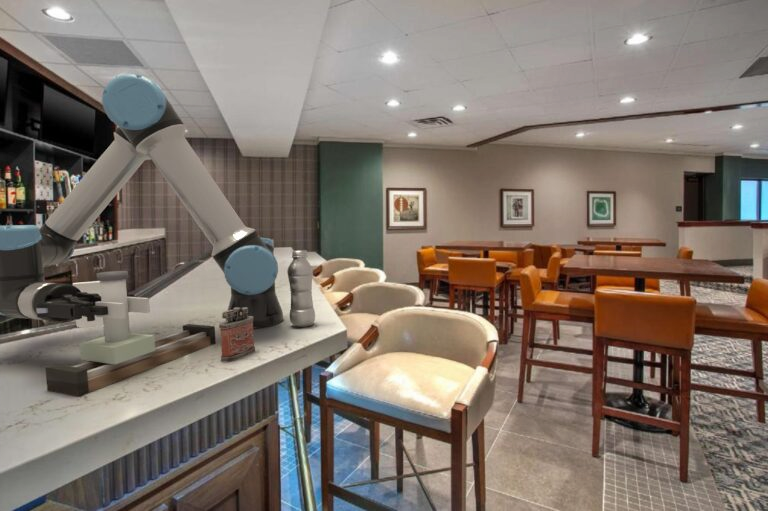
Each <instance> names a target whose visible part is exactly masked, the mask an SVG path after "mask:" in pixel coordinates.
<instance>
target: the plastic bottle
mask: <svg viewBox="0 0 768 511" xmlns="http://www.w3.org/2000/svg"><path fill="white" fill-rule="evenodd" d="M291 254H292V256H291V258H292V261H291V262H290V264H289V265H288V268H287V271H286V272H287V273H286V274H287V278H288V283H289V291H290V310H289V321H290V324H291V325H292V326H294V327H302V328H305V327H308V326H312V325H313V324H314V323H315V320H316V311H315V307H314V303H313V302H314V301H313V293H312V291H313V290H312V289H313V288H312V287H313V286H312V285H313V276H314V275H313V273H314V269H313V267H312V265H311V264H310V262H309V261H308V260H307V258H308V250H306V249H298V250H297V249H295V250H292V252H291Z"/></svg>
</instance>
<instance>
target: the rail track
mask: <svg viewBox="0 0 768 511" xmlns="http://www.w3.org/2000/svg"><path fill="white" fill-rule="evenodd" d="M215 328H216V327H215V325H214V326H213V325H203V324H193V323H192V324H191V323H186V324H184V325H182V331H179V332H176V333H173V334H169V335H166V336H163V337H160V338H158V339H154V340H155V351H153V352H150V353H147V354H144V355H141V356H138V357H136V358H133V359H130V360H127V361H124V362H121V363H118V364H108V363H101V362H94V361H88V360H87V361H85V362H82V363H79V364H76V365H72V366H71V365H70V366H69V365H64V364H59V363H55V364H51V365H48V366H45V367H44V370H45V378H46V380H45V381H46V390H47V391H50V392H56V393H60V394H64V395H70V396H75V397H81V396H84V395H86V394H89V393H91V392H93V391H96V390H99V389H101V388H104V387H107V386H109V385H112V384H114V383H117V382H119V381H122V380H125V379H127V378H130V377H133V376H136V375H138V374H140V373H143V372H145V371H149V370H150V369H153V368H156V367H159V366H161V365H164V364H166V363H169V362H172V361H174V360H177V359H179V358H181V357H185V356H186V355H190V354H191V353H194V352H197V351H199V350H201V349H202V350H203V349H205V348H208V347H210V346H212V345H215V344H216V329H215Z"/></svg>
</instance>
